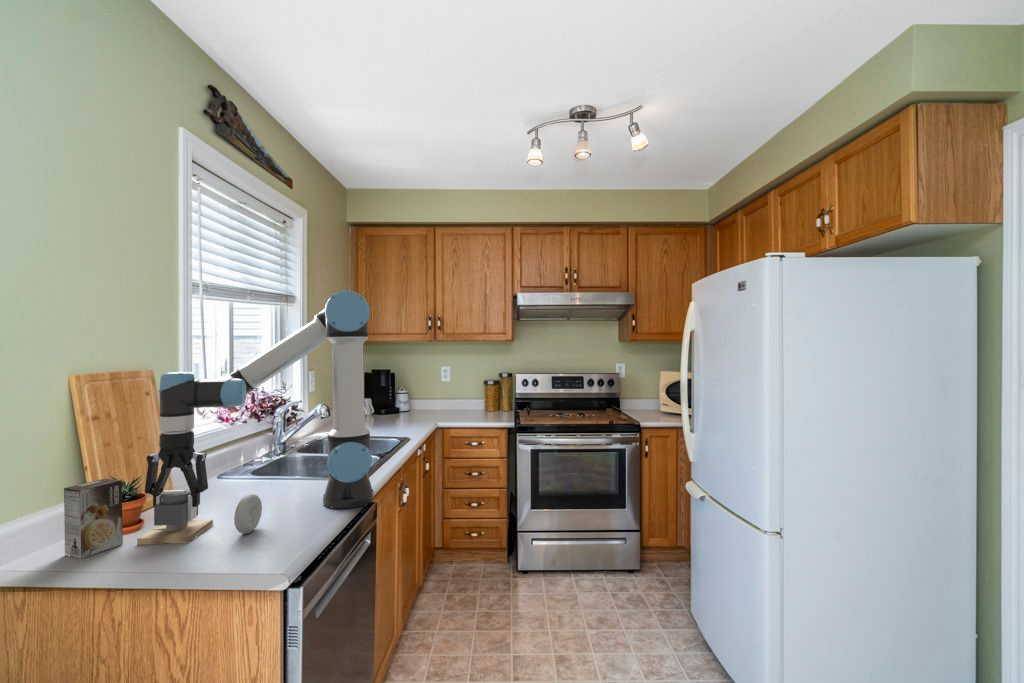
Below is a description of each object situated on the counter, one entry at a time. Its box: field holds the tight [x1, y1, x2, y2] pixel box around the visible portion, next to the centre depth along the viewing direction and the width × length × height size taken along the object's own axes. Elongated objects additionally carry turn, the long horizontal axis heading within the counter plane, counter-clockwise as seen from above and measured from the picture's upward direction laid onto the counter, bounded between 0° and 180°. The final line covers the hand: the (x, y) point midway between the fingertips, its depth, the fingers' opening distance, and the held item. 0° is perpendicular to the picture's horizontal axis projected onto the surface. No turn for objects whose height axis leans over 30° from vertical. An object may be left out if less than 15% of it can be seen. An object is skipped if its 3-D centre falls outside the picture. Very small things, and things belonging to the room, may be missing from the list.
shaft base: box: [136, 519, 214, 546], centre depth 129 cm, size 12×12×6 cm
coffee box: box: [63, 478, 124, 559], centre depth 119 cm, size 9×6×16 cm
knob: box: [153, 489, 199, 527], centre depth 129 cm, size 7×7×8 cm
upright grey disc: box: [233, 493, 263, 535], centre depth 130 cm, size 10×4×10 cm, turn 0°
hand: (176, 519), depth 129 cm, fingers closed on knob, 7 cm apart
